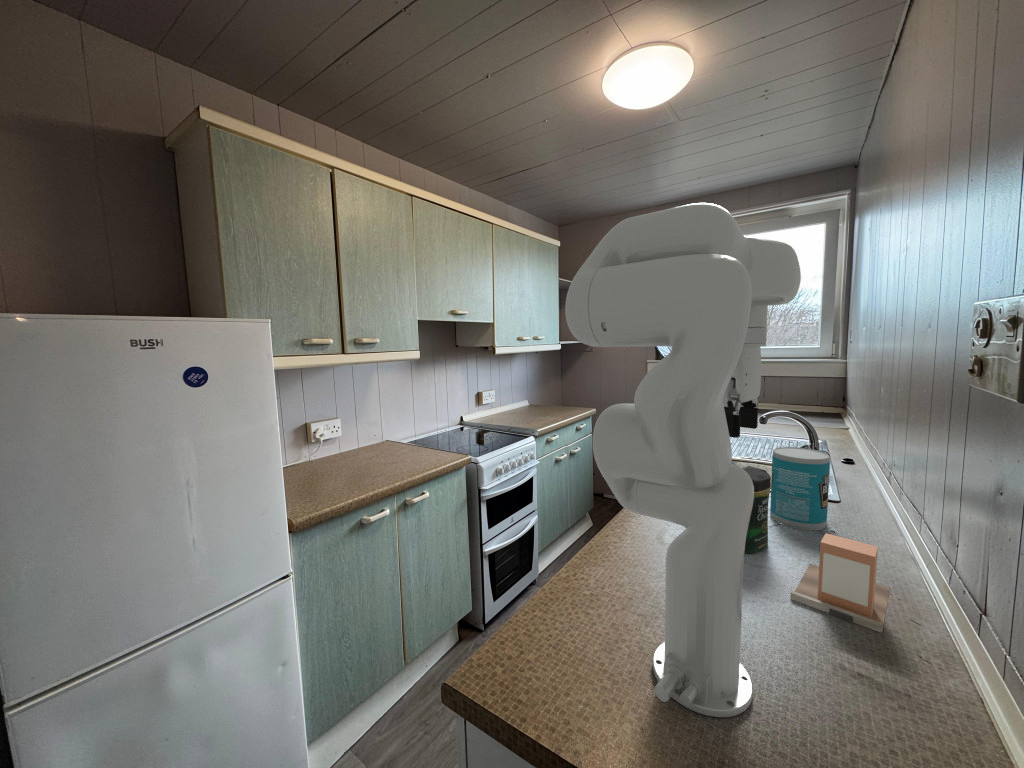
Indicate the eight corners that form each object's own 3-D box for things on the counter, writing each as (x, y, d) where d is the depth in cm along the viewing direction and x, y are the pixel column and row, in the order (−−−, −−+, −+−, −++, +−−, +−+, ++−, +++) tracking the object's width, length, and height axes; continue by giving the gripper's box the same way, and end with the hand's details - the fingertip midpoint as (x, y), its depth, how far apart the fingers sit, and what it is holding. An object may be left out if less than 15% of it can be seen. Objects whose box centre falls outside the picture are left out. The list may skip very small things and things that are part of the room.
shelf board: (881, 640, 63) (882, 626, 63) (789, 605, 71) (790, 593, 71) (889, 594, 74) (890, 582, 74) (809, 569, 83) (810, 558, 82)
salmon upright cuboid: (870, 621, 65) (875, 557, 64) (817, 602, 70) (820, 542, 69) (873, 608, 68) (878, 546, 67) (822, 590, 73) (825, 533, 72)
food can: (761, 510, 111) (763, 446, 110) (808, 511, 110) (811, 446, 108) (785, 530, 100) (788, 459, 98) (838, 531, 98) (842, 459, 96)
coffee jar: (751, 563, 85) (754, 478, 83) (715, 547, 92) (717, 468, 90) (774, 550, 90) (777, 469, 89) (739, 536, 97) (741, 461, 95)
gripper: (735, 338, 81) (733, 422, 83) (701, 339, 69) (698, 437, 71) (779, 337, 76) (775, 427, 77) (749, 338, 64) (746, 443, 66)
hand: (738, 431), depth 74 cm, fingers open, 9 cm apart
